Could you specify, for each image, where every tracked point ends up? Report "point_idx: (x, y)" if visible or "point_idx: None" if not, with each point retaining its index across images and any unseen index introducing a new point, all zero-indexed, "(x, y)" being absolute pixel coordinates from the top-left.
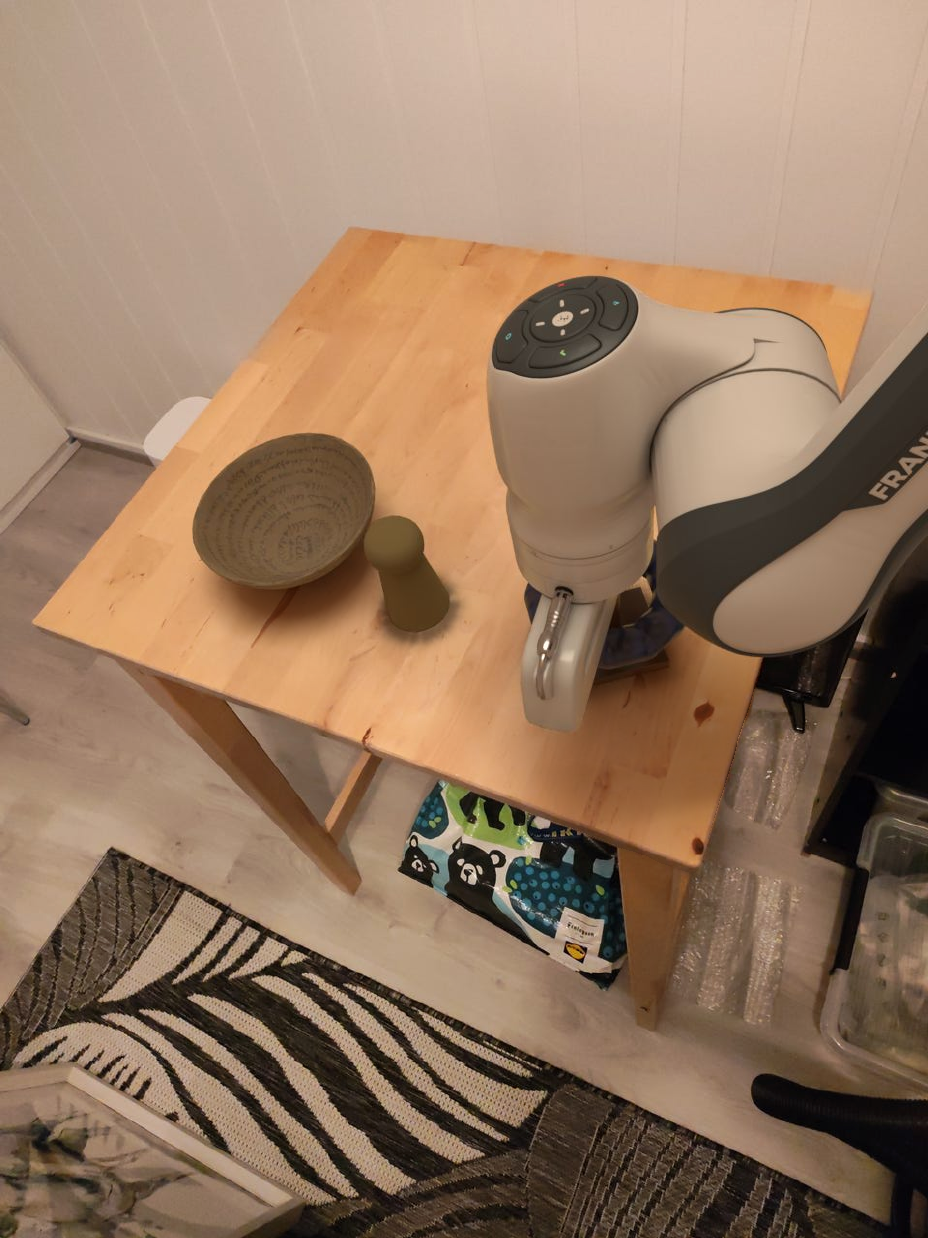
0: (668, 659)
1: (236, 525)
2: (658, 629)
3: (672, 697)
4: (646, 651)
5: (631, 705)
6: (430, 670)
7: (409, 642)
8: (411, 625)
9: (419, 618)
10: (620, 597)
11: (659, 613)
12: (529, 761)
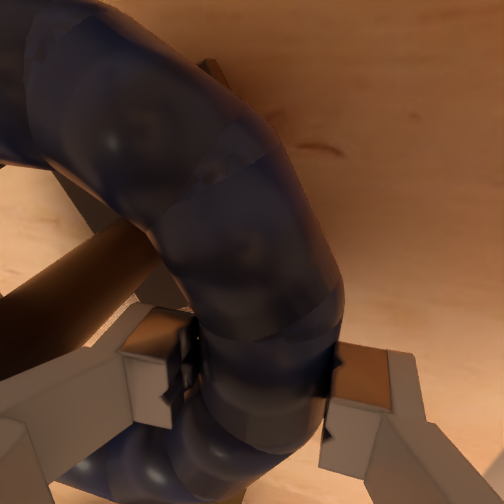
0: (202, 62)
1: None
2: (143, 126)
3: (299, 33)
4: (265, 163)
5: (335, 136)
6: (306, 465)
7: (263, 486)
8: (239, 496)
9: (228, 500)
10: (84, 200)
11: (60, 135)
12: (490, 329)
